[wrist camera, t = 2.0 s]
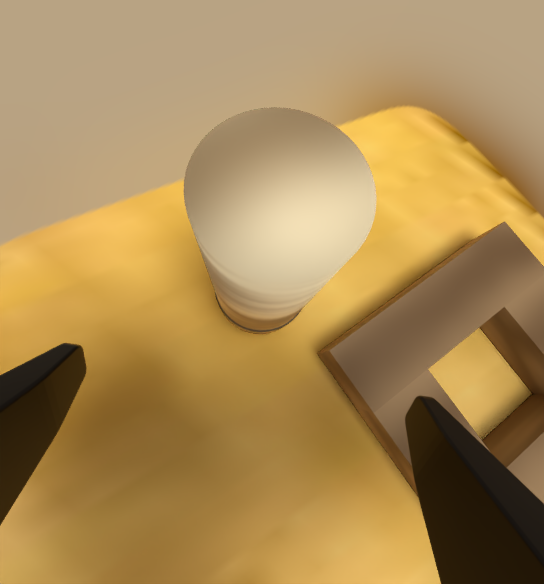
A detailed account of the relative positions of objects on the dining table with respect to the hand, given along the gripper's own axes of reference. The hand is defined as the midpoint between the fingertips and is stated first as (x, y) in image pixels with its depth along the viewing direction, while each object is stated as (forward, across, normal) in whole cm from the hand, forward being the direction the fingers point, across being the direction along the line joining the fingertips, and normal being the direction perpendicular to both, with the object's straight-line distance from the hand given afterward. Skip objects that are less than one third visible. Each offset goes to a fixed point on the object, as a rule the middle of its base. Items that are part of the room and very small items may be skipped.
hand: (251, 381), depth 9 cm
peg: (+12, 0, +5) cm, 12 cm away
